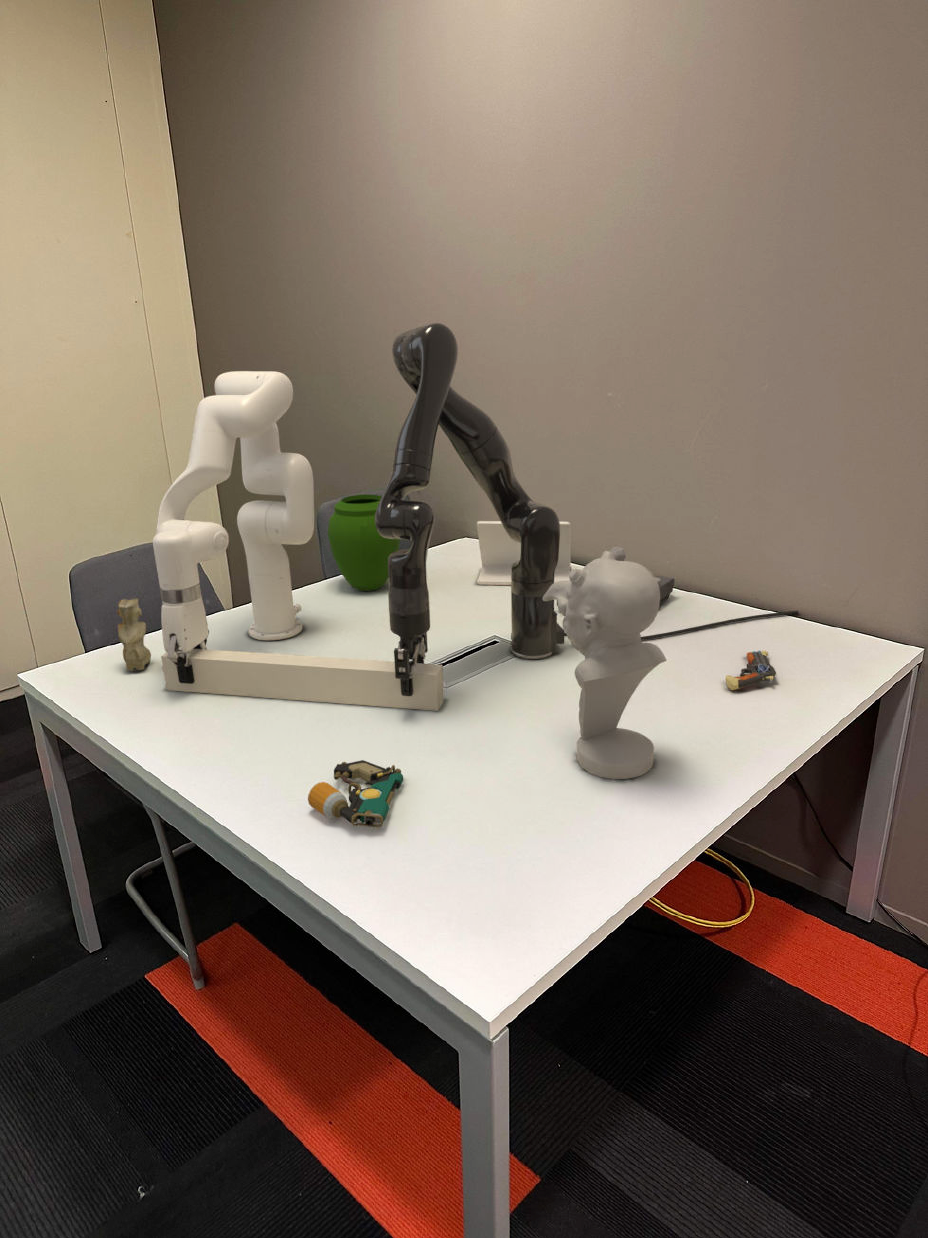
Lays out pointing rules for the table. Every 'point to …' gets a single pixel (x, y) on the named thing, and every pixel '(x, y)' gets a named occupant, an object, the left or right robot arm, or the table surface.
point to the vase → (360, 542)
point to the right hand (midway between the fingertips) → (413, 686)
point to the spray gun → (358, 793)
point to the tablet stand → (513, 553)
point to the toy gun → (753, 671)
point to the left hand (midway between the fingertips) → (193, 676)
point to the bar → (307, 679)
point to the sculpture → (132, 635)
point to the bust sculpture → (610, 658)
